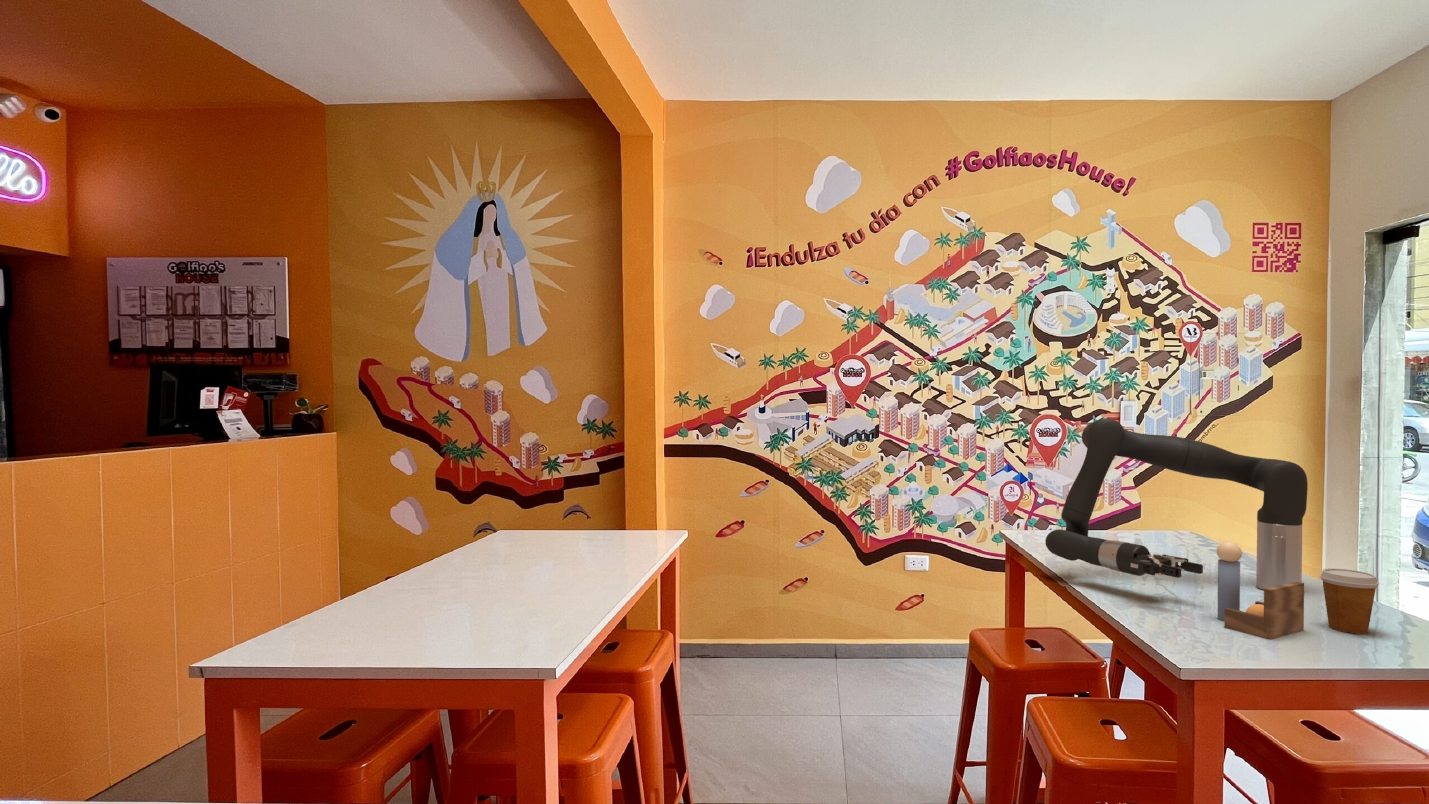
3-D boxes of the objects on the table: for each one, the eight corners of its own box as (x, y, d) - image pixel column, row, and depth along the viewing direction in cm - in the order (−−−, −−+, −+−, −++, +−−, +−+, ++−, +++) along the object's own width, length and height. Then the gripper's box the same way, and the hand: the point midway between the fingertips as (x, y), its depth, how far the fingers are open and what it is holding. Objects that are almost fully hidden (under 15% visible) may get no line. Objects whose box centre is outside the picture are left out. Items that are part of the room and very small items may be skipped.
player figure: (1223, 615, 164) (1223, 539, 164) (1245, 621, 160) (1246, 542, 160) (1211, 618, 162) (1212, 540, 162) (1233, 624, 158) (1234, 544, 158)
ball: (1284, 614, 153) (1272, 631, 155) (1261, 597, 157) (1249, 615, 159) (1270, 617, 151) (1258, 635, 153) (1247, 600, 155) (1235, 618, 157)
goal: (1257, 619, 162) (1258, 574, 162) (1303, 630, 154) (1304, 583, 154) (1224, 627, 156) (1224, 580, 156) (1270, 639, 148) (1270, 590, 148)
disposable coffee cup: (1354, 623, 159) (1355, 568, 159) (1390, 637, 150) (1391, 579, 150) (1307, 621, 160) (1308, 567, 160) (1340, 635, 151) (1341, 577, 150)
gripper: (1106, 544, 179) (1173, 557, 164) (1141, 539, 185) (1209, 552, 171) (1105, 575, 179) (1173, 591, 165) (1141, 569, 186) (1208, 584, 171)
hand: (1191, 571), depth 168 cm, fingers open, 8 cm apart
